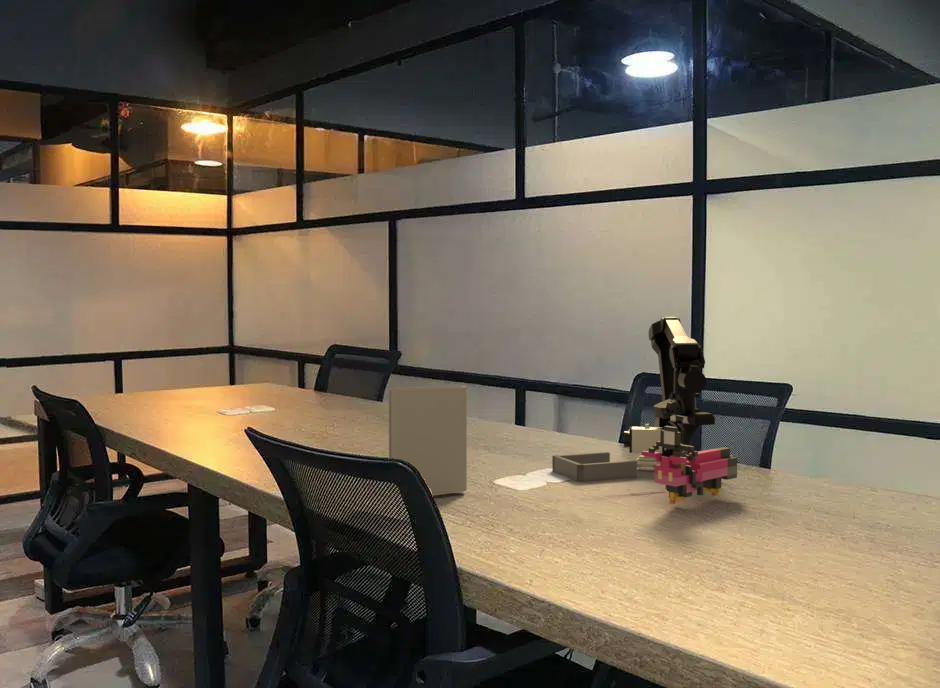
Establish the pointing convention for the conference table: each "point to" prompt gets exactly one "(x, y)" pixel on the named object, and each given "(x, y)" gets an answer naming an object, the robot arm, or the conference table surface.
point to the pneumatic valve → (643, 444)
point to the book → (431, 434)
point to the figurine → (690, 467)
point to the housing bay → (593, 467)
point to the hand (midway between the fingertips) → (684, 448)
